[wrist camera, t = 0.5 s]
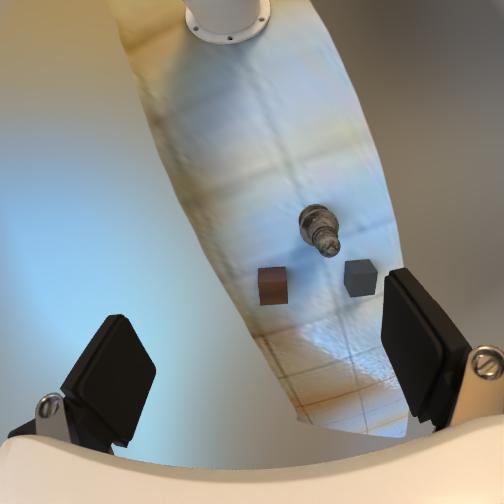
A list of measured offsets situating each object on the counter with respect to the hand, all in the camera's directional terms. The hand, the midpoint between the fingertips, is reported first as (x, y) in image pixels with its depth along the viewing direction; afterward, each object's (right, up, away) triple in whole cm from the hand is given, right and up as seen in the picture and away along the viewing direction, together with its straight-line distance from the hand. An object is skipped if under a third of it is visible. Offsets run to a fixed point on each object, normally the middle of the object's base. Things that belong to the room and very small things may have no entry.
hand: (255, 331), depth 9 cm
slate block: (+18, -1, +37) cm, 41 cm away
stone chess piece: (+10, +8, +34) cm, 36 cm away
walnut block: (+3, -2, +38) cm, 38 cm away
